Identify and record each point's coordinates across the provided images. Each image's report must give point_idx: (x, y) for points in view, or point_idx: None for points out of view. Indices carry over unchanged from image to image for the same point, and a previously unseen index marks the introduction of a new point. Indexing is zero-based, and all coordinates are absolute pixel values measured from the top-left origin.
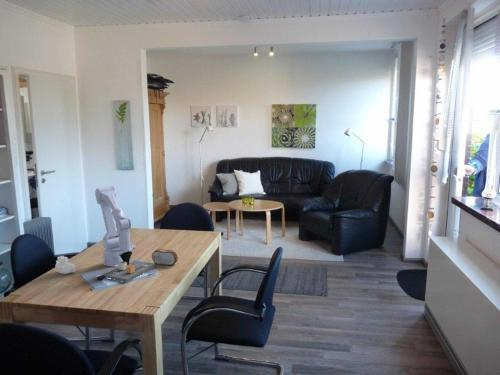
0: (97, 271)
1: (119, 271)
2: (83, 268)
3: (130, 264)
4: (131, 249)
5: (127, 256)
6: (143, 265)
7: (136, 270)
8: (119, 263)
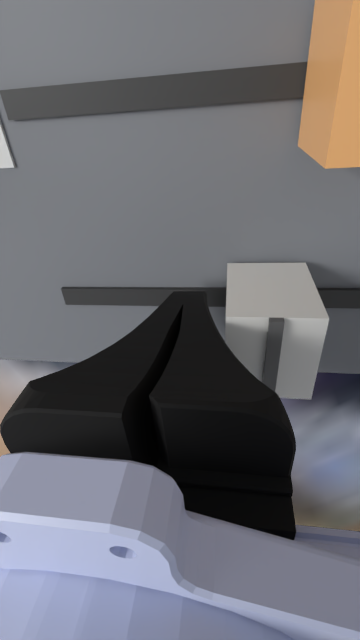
0: (296, 468)
1: (348, 289)
2: None
3: (335, 132)
4: (2, 522)
5: (213, 376)
6: (9, 113)
7: (224, 54)
8: (315, 378)
